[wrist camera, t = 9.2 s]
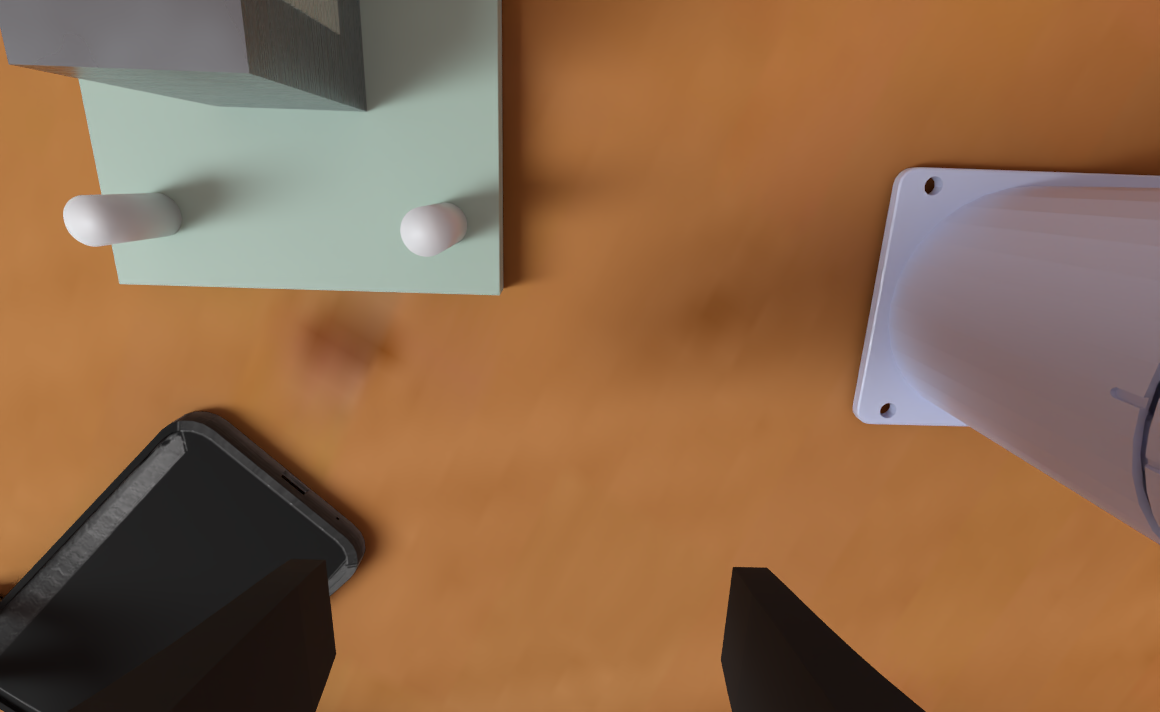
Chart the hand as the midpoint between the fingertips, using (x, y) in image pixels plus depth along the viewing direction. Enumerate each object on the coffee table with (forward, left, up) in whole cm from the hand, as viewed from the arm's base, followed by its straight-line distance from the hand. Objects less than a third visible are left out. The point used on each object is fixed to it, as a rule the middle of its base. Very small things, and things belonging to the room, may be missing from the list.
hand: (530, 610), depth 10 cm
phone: (+14, +8, -10) cm, 19 cm away
